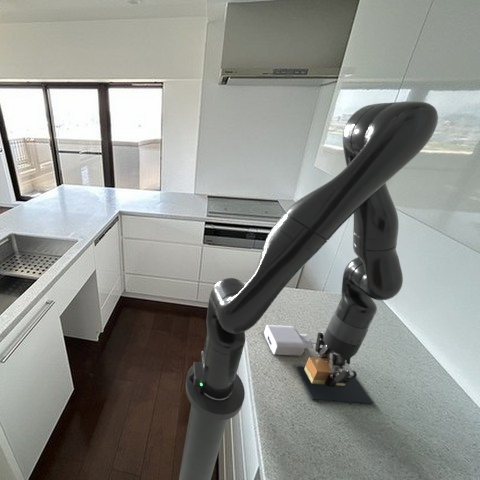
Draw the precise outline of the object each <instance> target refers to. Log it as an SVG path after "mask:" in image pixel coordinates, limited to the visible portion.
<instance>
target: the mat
mask: <svg viewBox="0 0 480 480" xmlns="http://www.w3.org/2000/svg"><path fill="white" fill-rule="evenodd" d="M304 368H305V366H300V365H299V366H298V365H297V366H296V370H297V371H298V374H299V375H300V378H301V379H302V382H303V384H304V386H305V388H306V390H307V392H308V394H309V396H310V397H311V400H312V401H318V402H319V401H321V402H332V403H333V402H334V403H345V404H346V403H347V404H360V405H374V402H373V401H372V399H371V398H370V396H369V395H368V394H367V392H366V391H365V389H364V388H363V387H362V385H361V384H360V382H359V381H358V379H357V378H356V377H355V378H353V379H352V380H351V381H349V382H348V383H346V384H345V386H341V385H336V386H335V387H329V386H326V385H325V384H312V383H311V381H310V379H309V377H308V376H307V374H306V372H305V370H304Z"/></svg>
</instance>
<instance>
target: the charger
mask: <svg viewBox="0 0 480 480" xmlns="http://www.w3.org/2000/svg"><path fill="white" fill-rule="evenodd" d="M263 335H264V338H265V340H266V342H267V345H268V346H269V348H270V351H271V353H272V354H273V355H278V356H279V355H280V356H282V355H283V356H303V354H304V352H305V350H306V349H314V345H316V342H315V341H313V340H315V338H313V337H309V336H308V335H307V334H306V333H300V332H299V331H298V330H297V328H296V327H294V326H292V325H277V324H275V325H274V324H266V325H265V329H264V332H263Z"/></svg>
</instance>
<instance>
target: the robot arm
mask: <svg viewBox="0 0 480 480" xmlns="http://www.w3.org/2000/svg"><path fill="white" fill-rule="evenodd" d="M438 121H439V114H438V111H437V109H436V107H435V106H434V105H432V104H431V103H429V102H426V101H417V100H415V101H414V100H409V101H408V100H407V101H406V100H405V101H396V102H380V103H379V102H378V103H373V104H369V105H365V106H363V107H361V108H359V109H358V110H356V111H355V112H354V113H353V114H352V115H351V116H350V118H348V120H347V122H346V123H345V125H344V128H343V132H342V148H343V149H342V150H343V155H344V160H345V165H346V167H345V168H344V169H343V170H342V171H341V172H339V173H338V174H337V175H336V176H335V177H333V178H331V180H329V181H327V182H326V183H324V184H323V185H321V186H320V187H318V188H316V189H314V190H313V191H311V192H309V193H308V194H306V195H304V196H303V197H301V198H299V199H298V200H296V201H295V202H293V204H291V205H290V206H289V207H288V208H287V209H286V210H285V212H284V213H283V214H282V216H281V217H280V218H279V219H278V220H277V222H275V224H274V225H273V227H272V228H271V229H270V230H269V232H268V234H267V236H266V239H265V241H264V243H263V247H262V250H261V254H260V257H259V260H258V263H257V266H256V268H255V271H254V272H253V274H252V275H251V277H250V278H249V280H248V281H247V282H246V283H244V282H243V281H242V280H240V279H237V278H235V277H226V278H223V279H221V280H219V281H218V282H217V283H216V284H214V286H213V288H212V289H211V291H210V294H209V298H208V302H207V303H208V305H207V310H206V311H207V313H206V319H205V320H206V321H205V322H206V323H205V324H206V336H205V342H204V348H203V350H202V351H201V353H200V358H199V361H193V365H192V366H193V373H192V374H190V376H189V379H190V381H191V382H192V383H194V387H199V393H200V394H203V395H205V396H206V397H207V398H209V399H211V400H213V401H225V400H227V399H228V398H229V397H230V396H231V394H232V390H233V385H234V381H235V378H236V374H237V375H238V370H239V366H240V362H241V359H242V355H243V352H244V347H245V344H246V340H247V339H246V338H247V337H246V336H247V335H246V332H247V331H249V330H250V329H251V328H253V327H255V325H256V324H257V323H259V321H260V320H261V319H262V317H263V316H265V313H266V312H267V311H268V309H269V308H270V307H271V305H272V304H273V303H274V301H275V300H276V299H277V297H278V296H279V295H280V294H281V292H282V291H283V290H284V288H285V287H286V286H287V285H288V284H289V283H290V282H291V281H292V280H293V278H294V277H295V276H296V275H297V274H298V273H299V272H300V271H301V269H302V268H303V267H304V266H305V265H306V264H307V263H308V262H309V261H310V260H311V259H312V258H313V257H314V256H315V255H316V254H317V253H318V252H319V251H320V250H321V249H322V248H323V247H324V246H325V245H326V244H327V243H328V241H330V239H331V238H332V237H333V236H334V234H336V232H337V231H338V230H339V229H340V228H341V227H342V226H343V225H344V224H345V223H346V222H347V221H348V219H349V218H350V217H352V215H353V231H352V233H353V234H352V249H353V252H354V254H355V255H356V256H357V257H355V258H353V259H352V260H350V261H349V262H348V263H347V265H346V266H345V268H344V271H343V274H342V281H341V282H342V283H341V297H340V300H339V302H338V306H337V307H336V310H335V311H334V312H333V315H331V318H330V321H329V322H328V325H327V327H326V330H325V332H320V331H319V332H317V337H316V344H315V348H314V349H315V352H316V353H318V354H317V358H329V360H330V361H329V368H330V374H329V375H328V377H327V379H326V381H325V385H326V386H329V387H335V386H336V384H337V383H343V384H346V383H348V382H349V381H351V380H352V379H353V378H356V377H357V376H358V373H357V371H355V370H352V367H351V366H350V365H351V359H352V358H353V357H354V356H355V355H357V353H358V352H359V349H360V348H361V346H362V344H363V342H364V340H365V339H366V336H367V334H368V331H369V328H370V326H371V324H372V323H373V320H374V318H375V316H376V314H377V312H378V306H377V304H376V302H375V301H374V300H376V301H389V300H390V299H393V298H394V297H396V296H397V295H398V294H399V293H400V291H401V290H402V287H403V284H404V283H403V282H404V276H403V271H402V267H401V262H400V258H399V255H398V253H397V244H398V236H399V225H400V224H399V222H400V221H399V215H398V211H397V208H396V205H395V203H394V201H393V198H392V195H391V193H390V191H389V188H388V186H387V183H388V181H390V180H391V179H392V178H393V177H394V176H395V175H397V174H398V173H399V172H400V171H401V170H402V169H403V168H405V166H406V165H408V164H409V163H410V162H411V161H412V160H413V159H415V157H417V156H418V155H419V154H420V153H421V151H422V150H423V149H424V148H425V147H426V145H427V144H428V143H429V141H430V140H431V138H432V137H433V135H434V133H435V131H436V129H437V126H438ZM321 346H322V347H321ZM334 365H335V366H334ZM335 371H337V374H336V373H335ZM192 377H193V378H192Z"/></svg>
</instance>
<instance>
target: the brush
mask: <svg viewBox="0 0 480 480" xmlns="http://www.w3.org/2000/svg"><path fill="white" fill-rule="evenodd" d="M329 361H330V360H329V358H318V357H314V356H313V357H311V356H309V357H308V359H307V361H306V363H305V366H304V367H305V368H304V370H305V372H306V374H307V376H308V377H309V379H310V381H311V383H312V384H325V381H326V379H327V377H328V375H329V374H330V368H329ZM334 366H335V365H334ZM335 373H336V374H337V371H335ZM336 385H341V386H345V384H343V383H337V384H336Z"/></svg>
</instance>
